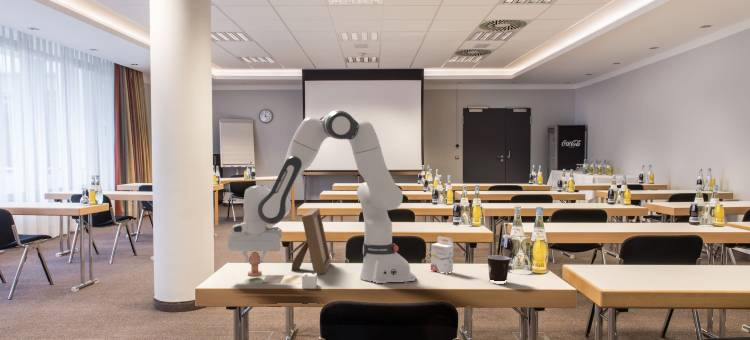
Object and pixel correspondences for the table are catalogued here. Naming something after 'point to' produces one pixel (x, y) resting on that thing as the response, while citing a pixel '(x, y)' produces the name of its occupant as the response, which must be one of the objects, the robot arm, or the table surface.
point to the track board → (273, 279)
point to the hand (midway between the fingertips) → (254, 262)
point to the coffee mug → (498, 267)
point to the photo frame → (313, 243)
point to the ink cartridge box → (442, 255)
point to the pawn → (254, 265)
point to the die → (309, 280)
